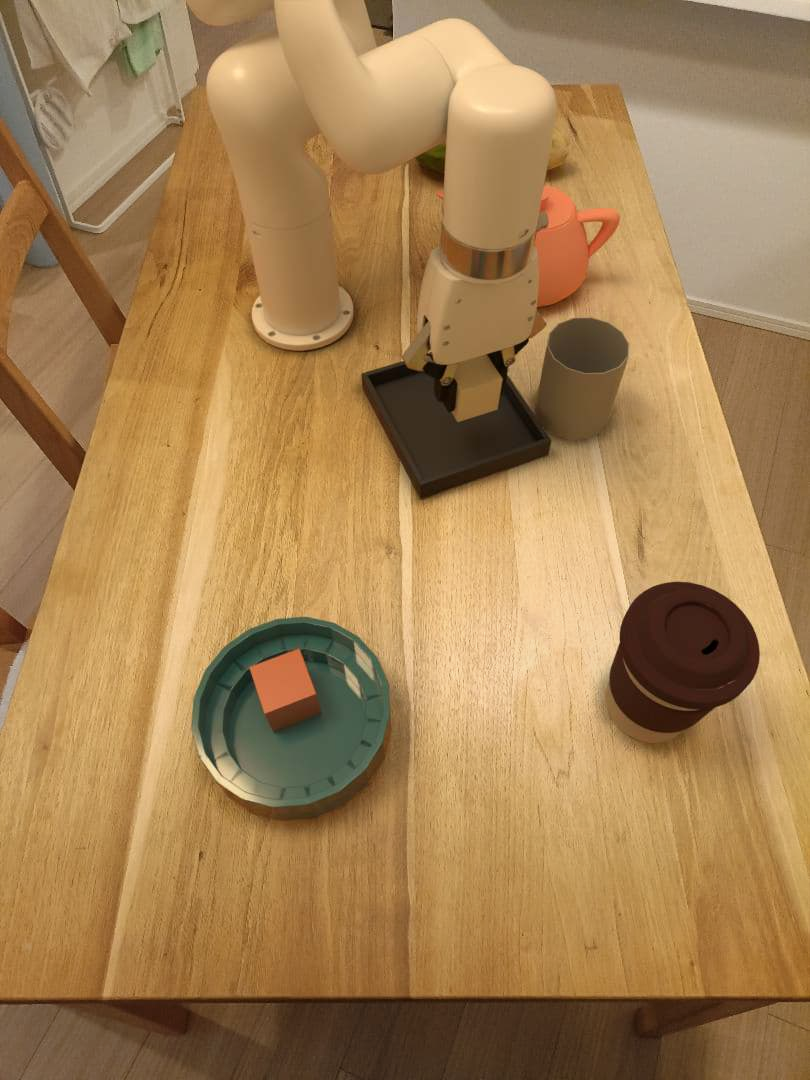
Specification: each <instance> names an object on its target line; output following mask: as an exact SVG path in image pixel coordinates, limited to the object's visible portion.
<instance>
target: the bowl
mask: <svg viewBox="0 0 810 1080" xmlns="http://www.w3.org/2000/svg"><path fill="white" fill-rule="evenodd" d="M297 649H300V651H301V654H302V656H303V659H304V662H305V664H306V667H307V670H308V673H309V675H310V678H311V681H312V683H313V686H314V689H315V691H316V694H317V698H318V701H319V705H320V708H321V712H322V713H320V714H317V715H315V716H312V717H310V718H307V719H305V720H302V721H300V722H297V723H295V724H292V725H289V726H287V727H284V728H282V729H279V730H277V731H274V732H273V731H272V729H271V727H270V725H269V723H268V721H267V718H266V716H265V714H264V711H263V708H262V705H261V702H260V699H259V696H258V693H257V690H256V687H255V684H254V681H253V678H252V675H251V672H250V668H249V667H251V666H254V665H256V664H259V663H262V662H264V661H267V660H270V659H272V658H275V657H278V656H280V655H283V654H286V653H288V652H291V651H294V650H297ZM389 686H390V685H389V681H388V679H387V676H386V675H385V671H384V670H383V667H382V665H381V663H380V661H379V658H378V656H377V655H376V653H374V652H373V651H372V649H370V647H369V646H368V645H367V644H366V643H365V642H364V641H363V639H361V637H359V636H358V635H357V634H355V633H353V632H351V631H350V630H348V629H347V628H344V627H343V626H341V625H338V624H337V623H336V622H332V621H328V620H324V619H320V618H319V619H318V618H314V617H309V616H298V617H285V618H275V619H272V620H269V621H268V622H265V623H264V622H263V623H262V624H259V625H257V626H254V627H250V628H249V629H247V630H245V631H244V632H243V633H241V634H240V635H238V636H237V637H236V638H234V639H232V641H230V642H228V643H227V644H225V645H224V646H223V647H222V648H221V650H220V651H218V653H217V655H216V656H215V657H214V658H213V659H212V661H211V662H210V663H209V665H207V667H206V668H205V670H204V673H203V674H202V676H201V678H200V681H199V684H198V686H197V688H196V691H195V694H194V695H193V701H192V712H191V713H192V714H191V725H190V729H191V733H192V737H193V740H194V744H195V748H196V751H197V755H198V758H199V760H200V761H201V763H202V764H203V765H204V767H205V768H206V770H207V771H208V772H209V774H210V775H211V777H212V778H213V779H214V781H215V782H216V784H217V785H218V786H219V788H221V790H222V791H223V792H224V794H225V795H226V796H227V798H229V799H231V800H232V801H233V802H234V803H236V804H238V805H239V806H240V807H242V808H244V809H245V810H246V811H248V812H249V813H251V814H254V815H255V816H256V815H257V816H261V817H265V818H268V819H273V820H276V821H280V822H290V821H301V820H303V821H304V820H314V819H316V818H319V817H321V816H323V815H326V814H329V813H331V812H333V811H335V810H338V809H340V808H343V807H344V806H346V805H347V804H348V803H349V802H351V801H352V800H353V799H354V798H355V797H356V796H358V795H359V794H360V793H361V792H362V791H364V790H365V789H366V788H367V787H368V786H369V785H370V783H371V782H372V780H373V778H374V777H375V775H376V774H377V773H378V770H379V769H380V768H381V766H382V765H383V763H384V761H385V759H386V756H387V752H388V748H389V743H390V740H391V735H392V732H393V727H392V714H391V700H390V687H389Z"/></svg>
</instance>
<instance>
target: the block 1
mask: <svg viewBox="0 0 810 1080" xmlns="http://www.w3.org/2000/svg"><path fill="white" fill-rule="evenodd" d="M249 668H250V672H251V675H252V678H253V681H254V684H255V687H256V690H257V693H258V696H259V699H260V702H261V705H262V708H263V711H264V714H265V716H266V718H267V721H268V723H269V725H270V727H271V729H272V731H273V732H274V731H277V730H279V729H282V728H284V727H287V726H289V725H292V724H295V723H297V722H300V721H302V720H305V719H307V718H310V717H312V716H315V715H317V714H320V713H322V712H321V708H320V705H319V701H318V698H317V694H316V691H315V689H314V686H313V683H312V681H311V678H310V675H309V673H308V670H307V667H306V664H305V662H304V659H303V656H302V654H301V651H300V649H297V650H294V651H291V652H288V653H286V654H283V655H280V656H278V657H275V658H272V659H270V660H267V661H264V662H262V663H259V664H256V665H254V666H251V667H249Z"/></svg>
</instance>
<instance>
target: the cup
mask: <svg viewBox="0 0 810 1080" xmlns="http://www.w3.org/2000/svg"><path fill="white" fill-rule="evenodd" d="M629 355H630V342H629V340H628V339H627V337H626V335H625V333H624V332H623V330H621V329H620V328H618V327H617V326H616V325H614V324H612V323H611V322H609V321H606V320H602V319H599V318H595V317H592V316H591V317H590V316H588V317H587V316H586V317H585V316H584V317H581V316H580V317H571V318H568V319H566V320H564V321H560V322H558V323H557V324H556V325H555V326H554V327H553V328H552V329H551V330H550V331H549V332H548V336H547V342H546V347H545V352H544V357H543V363H542V368H541V373H540V379H539V384H538V389H537V394H536V399H535V406H534V412H533V413H534V415H535V416H536V418H537V419H538V421H539V422H540V424H541V425H542V427H543V428H544V430H545V431H546V432H548V433H549V434H551V435H552V436H555V437H559V438H561V439H564V440H567V441H574V440H576V441H578V440H587V439H590V438H592V437H594V436H597V435H600V433H602V431H603V430H604V429H605V427H606V426H607V425H608V424H609V421H610V417H611V414H612V411H613V408H614V405H615V402H616V398H617V395H618V392H619V389H620V386H621V382H622V380H623V376H624V374H625V369H626V368H627V367H626V366H627V363H628V360H629Z"/></svg>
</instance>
